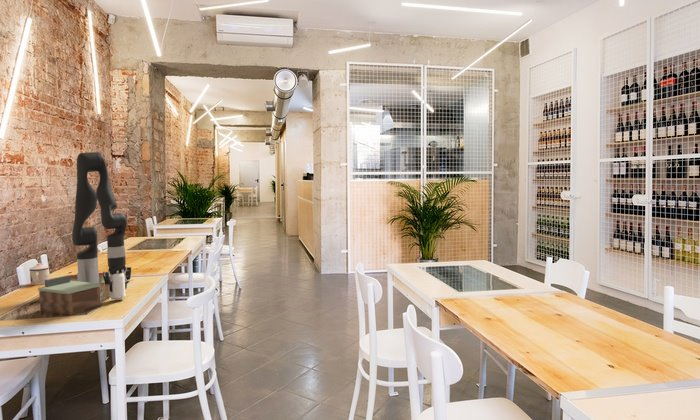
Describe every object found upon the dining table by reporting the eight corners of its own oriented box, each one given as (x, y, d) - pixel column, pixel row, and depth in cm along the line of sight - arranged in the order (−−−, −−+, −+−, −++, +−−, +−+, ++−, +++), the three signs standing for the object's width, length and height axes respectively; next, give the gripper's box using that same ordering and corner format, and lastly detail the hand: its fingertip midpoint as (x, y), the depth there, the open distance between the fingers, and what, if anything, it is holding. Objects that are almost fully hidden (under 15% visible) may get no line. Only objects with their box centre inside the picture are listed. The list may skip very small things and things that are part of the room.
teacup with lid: (32, 282, 254) (31, 262, 254) (51, 281, 258) (49, 261, 257) (27, 287, 244) (25, 266, 243) (46, 285, 247) (45, 264, 246)
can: (119, 299, 207) (117, 274, 206) (107, 299, 208) (105, 273, 207) (128, 296, 213) (127, 271, 212) (116, 295, 214) (115, 271, 214)
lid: (38, 290, 195) (37, 281, 194) (71, 283, 208) (70, 274, 208) (67, 294, 187) (67, 284, 186) (100, 286, 200) (99, 277, 200)
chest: (40, 310, 196) (39, 290, 195) (71, 302, 208) (70, 283, 208) (70, 315, 188) (68, 294, 187) (100, 306, 200) (99, 287, 200)
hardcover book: (67, 281, 257) (67, 274, 257) (107, 278, 263) (107, 271, 263) (60, 286, 246) (59, 278, 246) (102, 283, 252) (102, 275, 251)
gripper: (124, 253, 218) (125, 287, 219) (96, 257, 205) (99, 294, 206) (135, 253, 215) (136, 288, 216) (108, 258, 202) (110, 295, 203)
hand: (118, 290), depth 211 cm, fingers closed on can, 5 cm apart
